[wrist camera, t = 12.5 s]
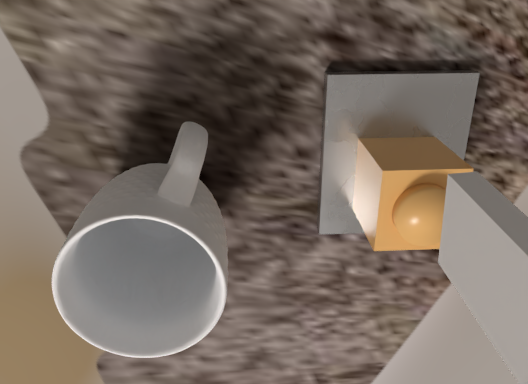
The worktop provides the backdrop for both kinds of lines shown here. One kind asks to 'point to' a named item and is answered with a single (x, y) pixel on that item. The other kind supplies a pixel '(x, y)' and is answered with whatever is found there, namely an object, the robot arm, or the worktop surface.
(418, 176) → the cube with dome top
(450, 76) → the plate with brass peg
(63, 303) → the mug
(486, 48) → the worktop surface
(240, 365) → the worktop surface
